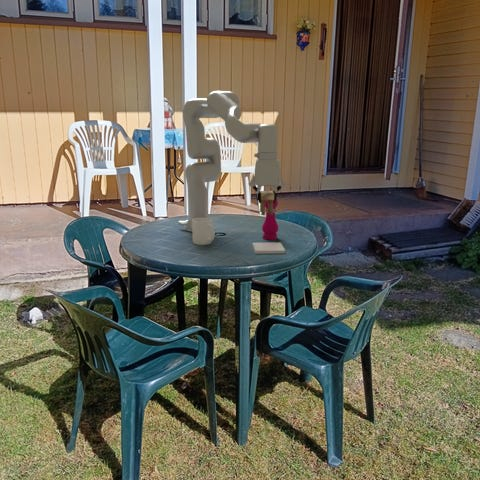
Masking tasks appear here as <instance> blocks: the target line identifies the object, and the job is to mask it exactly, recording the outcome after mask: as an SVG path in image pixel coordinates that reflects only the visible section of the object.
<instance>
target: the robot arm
mask: <svg viewBox="0 0 480 480" xmlns="http://www.w3.org/2000/svg"><path fill="white" fill-rule="evenodd" d="M242 112H243V111H242V108H241V106H240V98H239V96H238V95H237V93H235V91H234V92H233V91H230V90H229V91H228V90H213V91H212V92H210V93H209V94H208V95H207V98H204V97H202V98H201V97H200V98H199V97H197V98H196V97H195V98H191V99H188V100H187V101H186V102H185V103H184V105H183V108H182V117H183V123H184V126H185V127H184V128H185V137H186V150H187V151H186V152H187V155H188V157H189V159H192V160H205V161H198V162H197V161H196V162H192V163H190V164H188V165H187V166H186V167H185V171H184V173H185V179H186V180H185V181H186V185H187V219H185V220H179V221H178V225H179V226H185V227H184V230H185V231H187V232H192V233H193V230H192V220H193V219H194V218H209V191H208V188H207V186H206V184H205V183H213V182H217V181H218V180H219V179H220V178H221V175H222V158H221V147H220V144H219V142H218V141H217V139H215V138H214V137H206V131H205V129H206V128H205V126H204V124H203V122H202V121H201V120H200V119H218V118H220V119H222V121H224V125H225V126H224V127H225V129H226V132H227V133H228V135H230V137H232V138H233V139H234V140H235V141H236V142H238V143H242V144H251V143H257V153H254V154H253V155H254V158H257V159H256V161H255V164H254V165H255V167H254V176H253V178H252V179H251V180H250V181H249V183H248V186H250V188H252V189H253V190H254V191H255V192H256V202H257V201H258V204H260V203H261V191H262V187H272V189H273V191H272V192H273V193H274V200H273V203H275V200H277V201H278V199H277V197H278V196H277V194H278V193H279V191H280V190H281V189H283V188H284V187H285V186H286V185H287V184H286V181H284V179H282V176H281V164H280V160H279V159H278V140H279V139H278V136H279V135H278V133H279V129H278V126H277V124H274V123H273V124H272V123H271V124H270V123H268V124H265V123H260V122H259V123H258V122H255V123H254V122H248V123H246V122H242V121H241V120H240V119H241V117H242V114H243V113H242Z"/></svg>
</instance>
